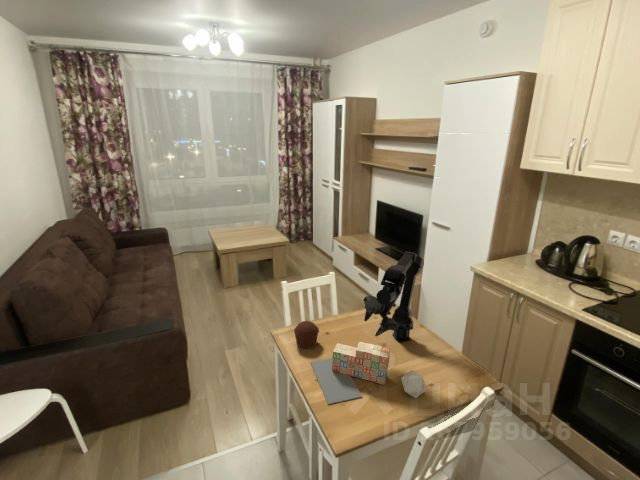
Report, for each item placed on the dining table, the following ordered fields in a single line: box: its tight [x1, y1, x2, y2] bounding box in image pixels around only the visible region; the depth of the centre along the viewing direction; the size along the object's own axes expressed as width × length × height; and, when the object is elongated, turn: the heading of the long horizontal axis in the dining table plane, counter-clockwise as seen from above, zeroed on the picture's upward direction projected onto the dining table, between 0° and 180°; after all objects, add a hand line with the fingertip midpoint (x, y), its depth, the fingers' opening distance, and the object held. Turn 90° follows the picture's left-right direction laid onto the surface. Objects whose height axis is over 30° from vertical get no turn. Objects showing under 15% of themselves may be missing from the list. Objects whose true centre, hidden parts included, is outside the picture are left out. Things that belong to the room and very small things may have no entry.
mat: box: [309, 357, 363, 406], centre depth 132 cm, size 13×24×1 cm, turn 17°
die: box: [400, 369, 428, 399], centre depth 124 cm, size 8×9×10 cm
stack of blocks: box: [332, 341, 391, 386], centre depth 133 cm, size 21×6×12 cm, turn 71°
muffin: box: [293, 320, 320, 349], centre depth 153 cm, size 12×11×10 cm
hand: (370, 328), depth 141 cm, fingers open, 9 cm apart
